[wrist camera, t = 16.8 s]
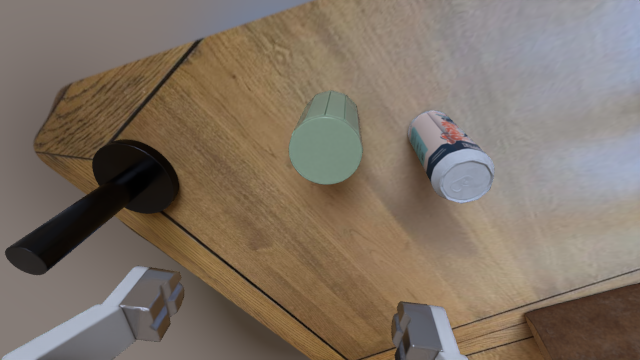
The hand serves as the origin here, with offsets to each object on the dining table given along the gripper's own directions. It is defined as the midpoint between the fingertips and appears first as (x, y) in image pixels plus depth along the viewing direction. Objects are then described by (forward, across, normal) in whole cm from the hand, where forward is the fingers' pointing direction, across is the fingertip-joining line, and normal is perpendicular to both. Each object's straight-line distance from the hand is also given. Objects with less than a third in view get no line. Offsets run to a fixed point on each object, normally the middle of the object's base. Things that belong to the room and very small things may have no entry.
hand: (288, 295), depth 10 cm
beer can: (+25, -12, +1) cm, 28 cm away
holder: (+25, +25, +13) cm, 38 cm away
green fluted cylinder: (+25, 0, +1) cm, 25 cm away
